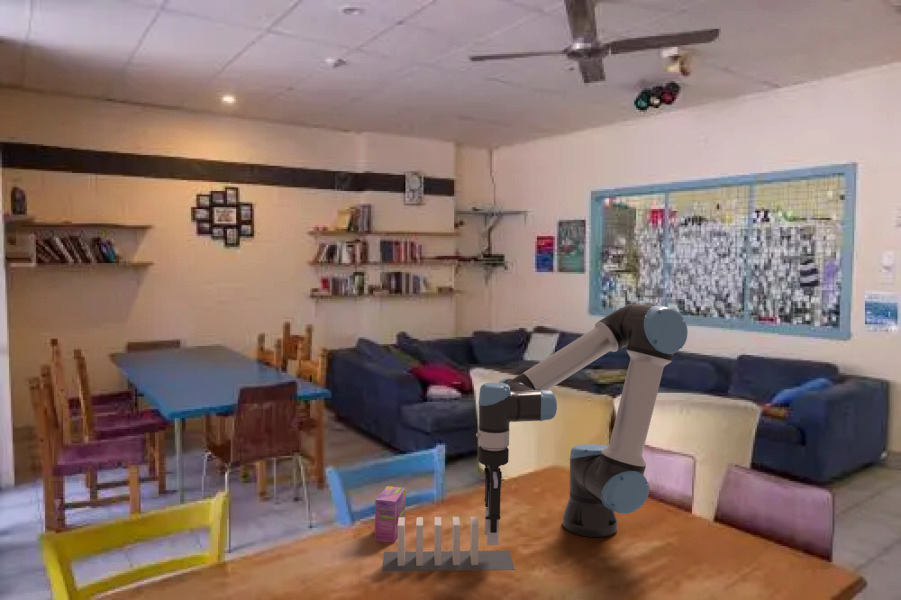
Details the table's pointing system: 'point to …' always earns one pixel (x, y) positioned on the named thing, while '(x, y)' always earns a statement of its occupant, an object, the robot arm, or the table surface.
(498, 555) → the mat
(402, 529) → the domino
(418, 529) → the domino
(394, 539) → the box
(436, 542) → the domino
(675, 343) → the robot arm
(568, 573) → the table surface
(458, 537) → the domino
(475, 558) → the domino
